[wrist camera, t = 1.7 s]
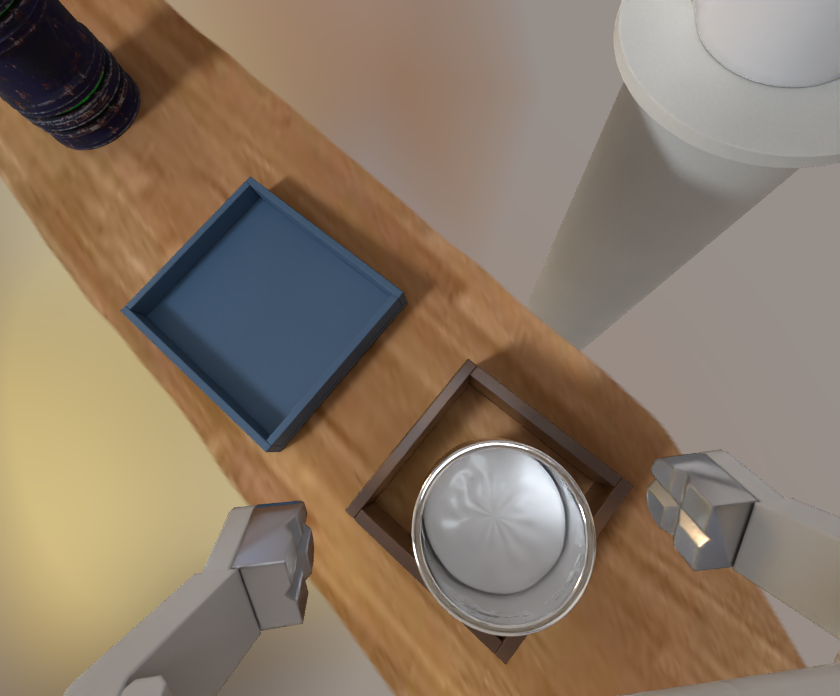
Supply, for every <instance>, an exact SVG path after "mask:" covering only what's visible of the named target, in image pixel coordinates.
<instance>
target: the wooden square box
mask: <svg viewBox="0 0 840 696" xmlns="http://www.w3.org/2000/svg"><path fill="white" fill-rule="evenodd" d="M469 384H470V385H471V386H472V387H474V388H475V389H476V390H478V391H479V392H480V393H481V394H483V395H484V396H485V397H486V398H488V399H489V400H490V401H492V402H493V403H494V404H495V405H497V406H498V407H499V408H500V409H502V410H503V411H504V412H506V413H507V414H508V415H509V416H511V417H512V418H513V419H514V420H516V421H517V422H518V423H520V424H521V425H522V426H523V427H525V428H526V429H527V430H528V431H530V432H531V433H532V434H534V435H535V436H536V437H537V438H539V439H540V440H541V441H542V442H544V443H545V444H546V445H548V446H549V447H550V448H551V449H553V450H554V451H555V452H556V453H558V454H559V455H560V456H562V457H563V458H564V459H565V460H567V461H568V462H569V463H571V464H572V465H573V466H574V467H576V468H577V469H578V470H579V471H581V472H582V473H583V474H585V475H586V476H587V477H588V478H590V479H591V480H592V481H593V482H595V483H594V484H593V485H592V487H591V488H590V489H589V491H588V492H587V494H586V495H585V498H586V500H587V503H588V505H589V508H590V510H591V514H592V517H593V521H594V526H595V533H596V538H597V536H598V535H599V534H600V532H601V531H602V529H603V528H604V527H605V525H606V524H607V522H608V521H609V520H610V518H611V517H612V515H613V514H614V513H615V511H616V510H617V508H618V507H619V506H620V504H621V503H622V501H623V500H624V499H625V497H626V496H627V494H628V493H629V492H630V490H631V489H632V487H633V485H632V484H631V483H630V482H628V481H627V480H626V479H624V478H623V477H622V476H621V475H619V474H618V473H617V472H615V471H614V470H613V469H611V468H610V467H609V466H608V465H606V464H605V463H604V462H602V461H601V460H600V459H598V458H597V457H596V456H594V455H593V454H592V453H591V452H589V451H588V450H587V449H585V448H584V447H583V446H581V445H580V444H579V443H578V442H576V441H575V440H574V439H572V438H571V437H570V436H568V435H567V434H566V433H565V432H563V431H562V430H561V429H559V428H558V427H557V426H555V425H554V424H553V423H552V422H550V421H549V420H548V419H546V418H545V417H544V416H542V415H541V414H540V413H538V412H537V411H536V410H535V409H533V408H532V407H531V406H529V405H528V404H527V403H525V402H524V401H523V400H522V399H520V398H519V397H518V396H516V395H515V394H514V393H512V392H511V391H510V390H509V389H507V388H506V387H505V386H503V385H502V384H501V383H499V382H498V381H497V380H496V379H494V378H493V377H492V376H490V375H489V374H488V373H486V372H485V371H484V370H482V369H481V368H480V367H479V366H477V365H476V364H474V363H473V362H472V361H471V360H469V359H467V360H466V362H465V363H464V364H463V365H462V366H461V368H460V369H459V370H458V371H457V373H456V374H455V375H454V376H453V378H452V379H451V380H450V381H449V382H448V384H447V385H446V386H445V387H444V389H443V390H442V391H441V392H440V394H439V395H438V396H437V397H436V398H435V400H434V401H433V402H432V403H431V405H430V406H429V407H428V408H427V410H426V411H425V412H424V413H423V414H422V416H421V417H420V418H419V419H418V421H417V422H416V423H415V424H414V426H413V427H412V428H411V429H410V430H409V432H408V433H407V434H406V435H405V437H404V438H403V439H402V440H401V442H400V443H399V444H398V445H397V446H396V448H395V449H394V450H393V451H392V453H391V454H390V455H389V456H388V458H387V459H386V460H385V461H384V462H383V464H382V465H381V466H380V467H379V469H378V470H377V471H376V472H375V474H374V475H373V476H372V477H371V478H370V480H369V481H368V482H367V483H366V485H365V486H364V487H363V488H362V489H361V491H360V492H359V493H358V494H357V496H356V497H355V498H354V499H353V501H352V502H351V503H350V504H349V505H348V507H347V508H346V509H345V511H346V512H347V513H348V514H349V515H350V516H351V517H352V518H354V520H355V521H356V522H357V523H358V524H359V525H360V526H361V527H362V528H363V529H365V530H366V531H367V532H368V533H369V534H370V535H371V536H372V537H373V538H374V539H375V540H376V541H377V542H378V543H379V544H380V545H381V546H382V547H383V548H384V549H385V550H386V551H387V552H389V553H390V554H391V555H392V556H393V557H394V558H395V559H396V560H397V561H398V562H399V563H400V564H401V565H402V566H403V567H404V568H405V569H406V570H407V571H408V572H409V573H410V574H412V575H413V576H414V577H415V578H416V579H417V580H418V581H419V582H420V583H421V584H422V585H423V586H424V587H425V588H426V589H427V590H428V591H429V589H428V588H427V586H426V584H425V583H424V581H423V579H422V577H421V574H420V572H419V569H418V567H417V564H416V560H415V556H414V552H413V546H412V536H411V535H410V534H409V533H408V532H407V531H406V530H405V529H404V528H403V527H402V526H400V525H399V524H398V523H397V522H396V521H395V520H394V519H393V518H392V517H391V516H390V515H389V514H388V513H387V512H385V511H384V510H383V509H382V508H381V507H380V506H379V505H378V504H377V503H376V502H374V501H375V500H376V499H377V498H378V497H379V495H380V494H381V493H382V492H383V490H384V489H385V488H386V487H387V485H388V484H389V483H390V482H391V480H392V479H393V478H394V477H395V475H396V474H397V473H398V472H399V470H400V469H401V468H402V467H403V465H404V464H405V463H406V462H407V460H408V459H409V458H410V457H411V455H412V454H413V453H414V452H415V451H416V449H417V448H418V447H419V446H420V444H421V443H422V442H423V441H424V439H425V438H426V437H427V436H428V434H429V433H430V432H431V431H432V429H433V428H434V427H435V426H436V424H437V423H438V422H439V421H440V419H441V418H442V417H443V416H444V414H445V413H446V412H447V411H448V410H449V408H450V407H451V406H452V405H453V403H454V402H455V401H456V400H457V398H458V397H459V396H460V395H461V393H462V392H463V391H464V390H465V388H466V387H467V386H468V385H469ZM429 592H430V591H429ZM430 593H431V592H430ZM463 624H464V623H463ZM464 625H465V624H464ZM465 626H466V627H467V628H468V629H469V630H470V631H471V632H472V633H473V634H474V635H475V636H476V637H477V638H478V639H479V640H480V641H481V642H483V643H484V644H485V645H486V646H487V647H488V648H489V649H490V650H491V651H492V652H493V653H495V655H496V656H497V657H498V658H499V659H500V660H501V661H502V662H503V663H504V664H507V663H508V661H509V660H510V658H511V657H512V656H513V654H514V653H515V651H516V650H517V649H518V647H519V646H520V644H521V643H522V642H523V640H524V639H525V637H526V636H527V635H523V636H497V635H492V634H487V633H484V632H481V631H478V630H476V629H473V628H471V627H469V626H467V625H465Z"/></svg>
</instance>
